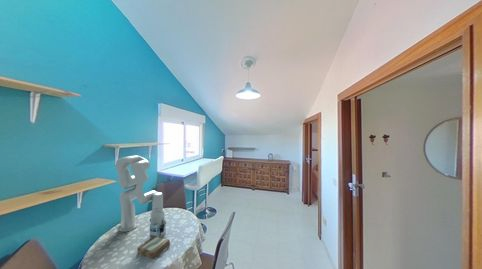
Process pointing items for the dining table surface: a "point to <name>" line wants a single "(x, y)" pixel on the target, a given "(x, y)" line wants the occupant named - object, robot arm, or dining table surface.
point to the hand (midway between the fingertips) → (157, 230)
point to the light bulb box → (156, 230)
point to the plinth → (153, 247)
